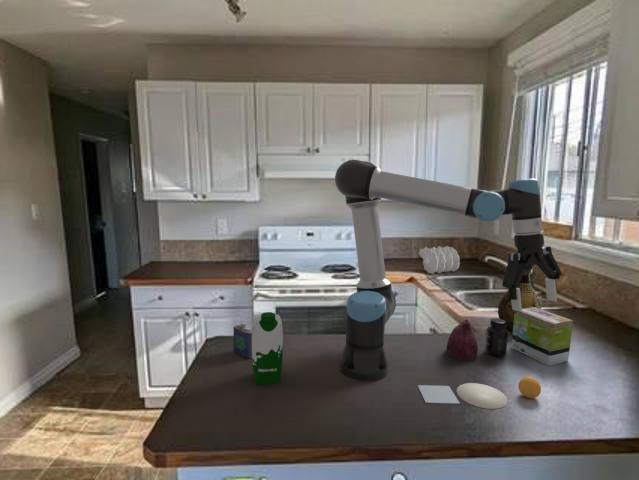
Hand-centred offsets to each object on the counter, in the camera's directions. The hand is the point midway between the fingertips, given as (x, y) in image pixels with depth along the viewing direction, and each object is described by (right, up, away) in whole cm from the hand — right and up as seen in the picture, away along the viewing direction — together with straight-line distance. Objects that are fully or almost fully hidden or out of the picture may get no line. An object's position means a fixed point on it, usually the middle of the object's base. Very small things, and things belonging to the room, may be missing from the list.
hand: (534, 305), depth 115 cm
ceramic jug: (+17, -18, +44) cm, 51 cm away
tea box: (+13, -21, +21) cm, 33 cm away
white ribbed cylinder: (+17, -3, +148) cm, 149 cm away
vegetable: (-14, -20, +20) cm, 32 cm away
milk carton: (-78, -22, +1) cm, 81 cm away
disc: (-18, -24, -6) cm, 31 cm away
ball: (-5, -21, -7) cm, 23 cm away
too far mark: (-30, -24, -6) cm, 39 cm away
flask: (-88, -19, +16) cm, 91 cm away
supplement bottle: (-2, -20, +21) cm, 30 cm away
